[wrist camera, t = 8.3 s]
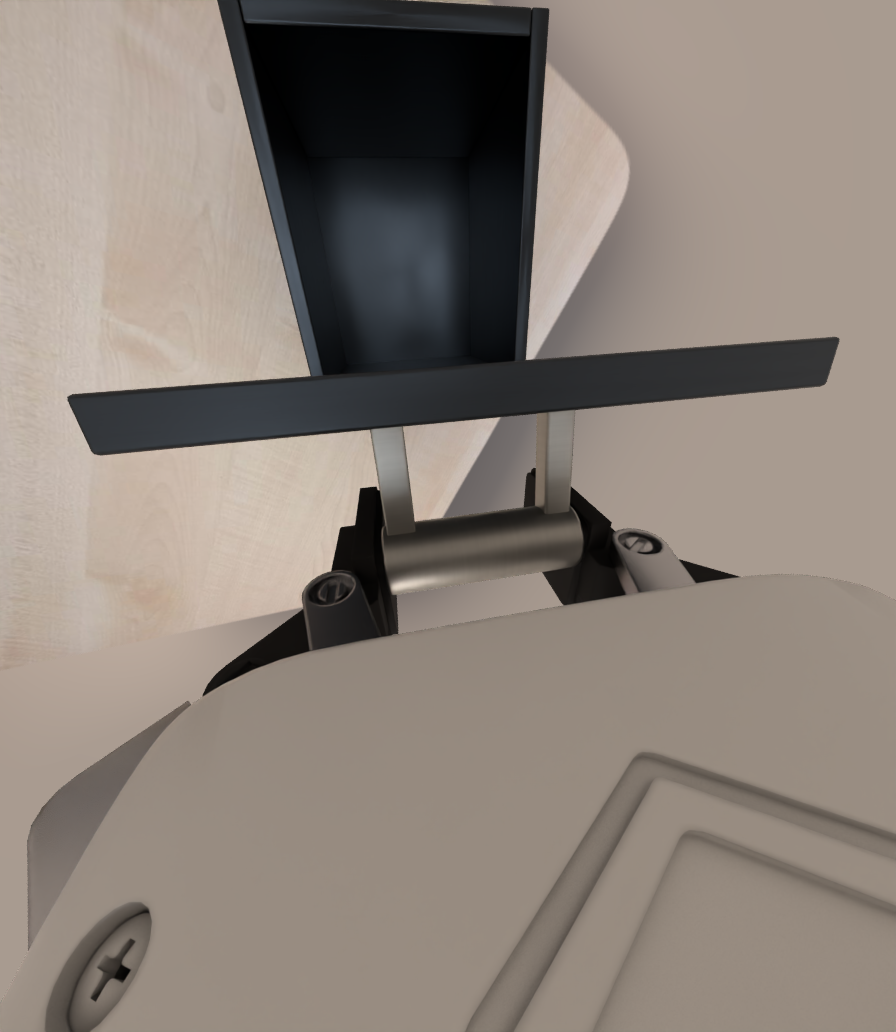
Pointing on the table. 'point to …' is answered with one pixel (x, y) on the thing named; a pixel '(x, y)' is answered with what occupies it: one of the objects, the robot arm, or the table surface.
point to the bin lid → (448, 398)
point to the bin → (397, 172)
